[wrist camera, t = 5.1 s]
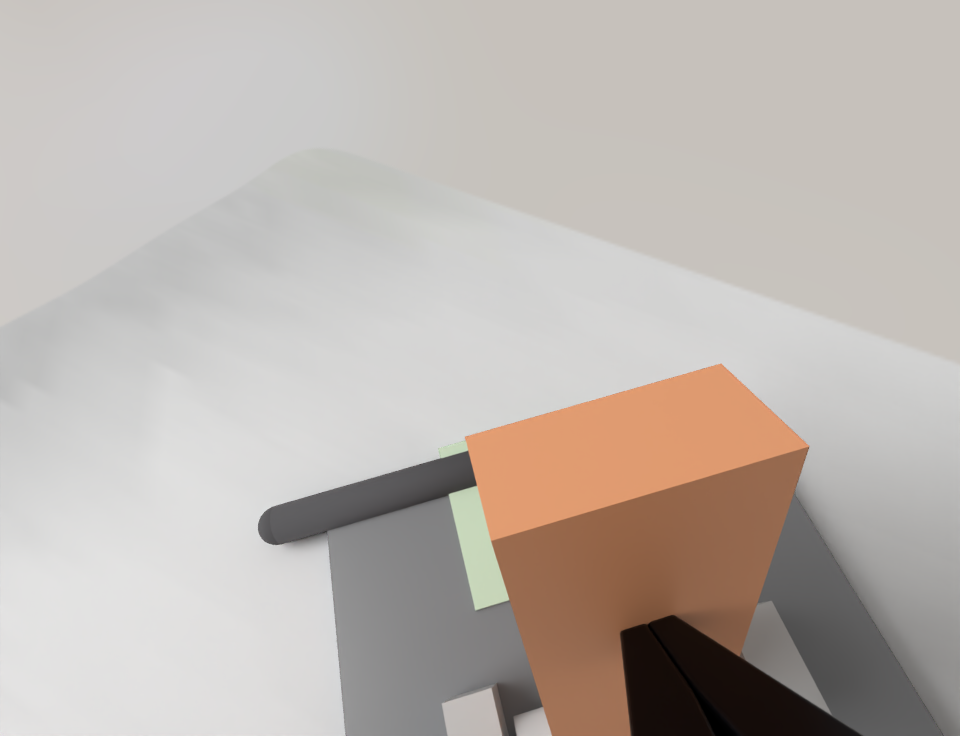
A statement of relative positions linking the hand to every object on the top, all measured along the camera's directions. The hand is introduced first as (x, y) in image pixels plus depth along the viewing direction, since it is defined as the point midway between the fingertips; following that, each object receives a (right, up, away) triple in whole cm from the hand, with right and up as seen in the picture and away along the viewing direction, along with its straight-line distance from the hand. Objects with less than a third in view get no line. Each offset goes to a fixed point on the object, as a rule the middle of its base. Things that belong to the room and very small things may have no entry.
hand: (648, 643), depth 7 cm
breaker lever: (+1, -4, +4) cm, 6 cm away
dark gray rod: (-4, 0, +9) cm, 10 cm away
